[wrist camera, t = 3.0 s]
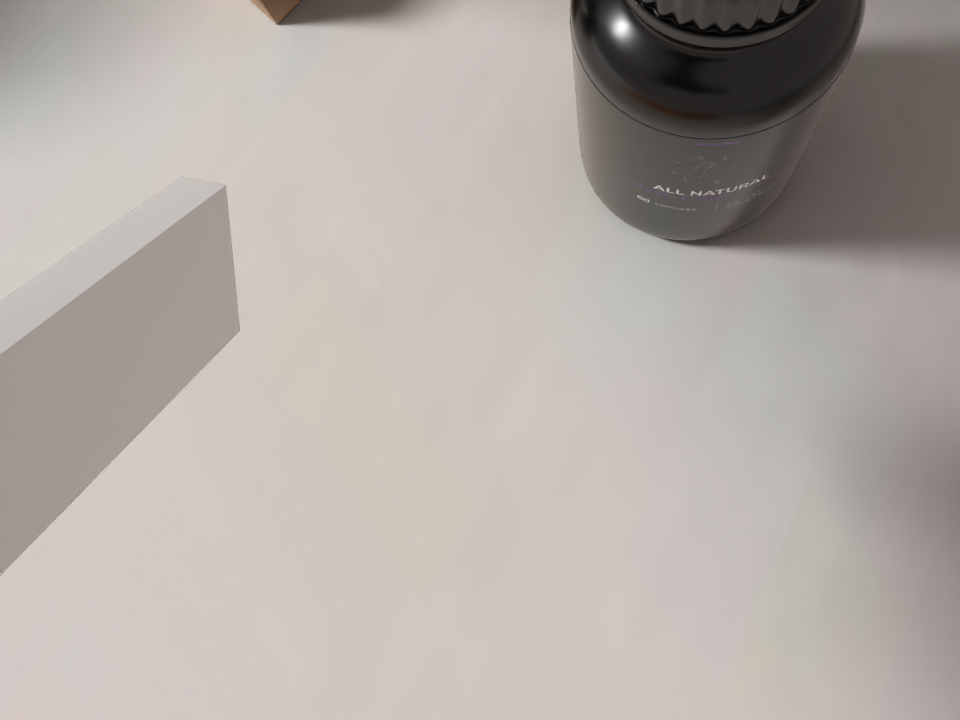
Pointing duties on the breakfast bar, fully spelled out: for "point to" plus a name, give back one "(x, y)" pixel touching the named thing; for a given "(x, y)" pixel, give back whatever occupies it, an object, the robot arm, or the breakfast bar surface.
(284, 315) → the breakfast bar surface
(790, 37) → the supplement bottle
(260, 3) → the walnut block
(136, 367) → the robot arm
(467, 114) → the breakfast bar surface
